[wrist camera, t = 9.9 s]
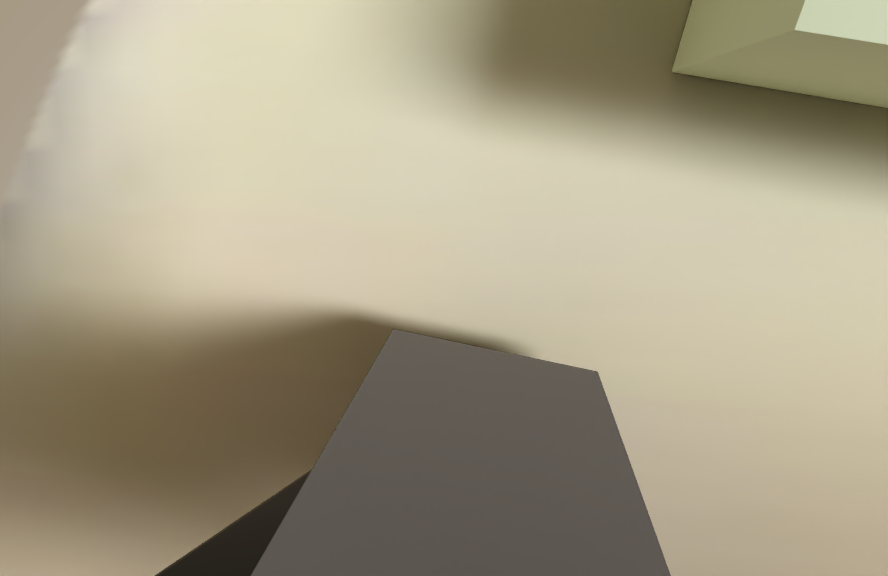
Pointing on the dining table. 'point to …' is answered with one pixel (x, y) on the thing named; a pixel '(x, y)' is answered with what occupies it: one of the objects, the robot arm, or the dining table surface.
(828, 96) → the socket block
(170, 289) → the dining table surface
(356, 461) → the plug
